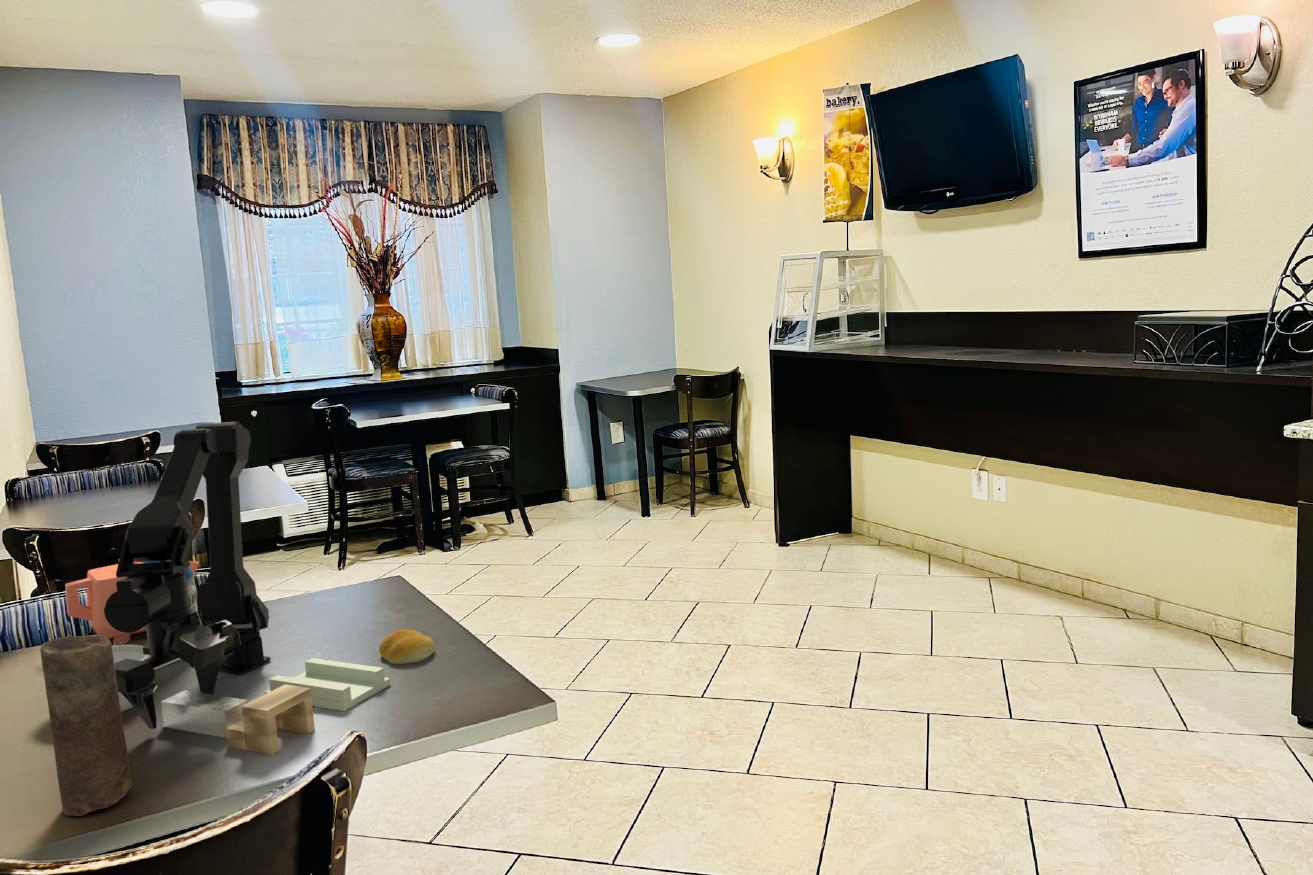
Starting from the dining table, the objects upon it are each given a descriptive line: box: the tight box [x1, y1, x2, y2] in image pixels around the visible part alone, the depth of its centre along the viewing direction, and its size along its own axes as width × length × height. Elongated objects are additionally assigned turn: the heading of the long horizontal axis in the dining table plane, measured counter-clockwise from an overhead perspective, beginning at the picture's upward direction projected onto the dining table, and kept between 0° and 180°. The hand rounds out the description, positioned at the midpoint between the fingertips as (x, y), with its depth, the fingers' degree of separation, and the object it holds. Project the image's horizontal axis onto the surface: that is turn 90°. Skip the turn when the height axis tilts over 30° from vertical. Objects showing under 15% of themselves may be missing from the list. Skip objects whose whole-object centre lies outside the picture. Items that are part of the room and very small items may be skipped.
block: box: [160, 690, 249, 739], centre depth 137 cm, size 12×4×4 cm, turn 66°
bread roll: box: [378, 628, 435, 665], centre depth 161 cm, size 8×9×4 cm
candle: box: [39, 634, 133, 817], centre depth 116 cm, size 8×7×20 cm
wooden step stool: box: [226, 684, 316, 756], centre depth 132 cm, size 8×8×6 cm
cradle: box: [264, 657, 392, 712], centre depth 147 cm, size 15×10×3 cm, turn 65°
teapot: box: [64, 559, 200, 644], centre depth 180 cm, size 22×13×14 cm, turn 128°
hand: (181, 714), depth 139 cm, fingers open, 9 cm apart
